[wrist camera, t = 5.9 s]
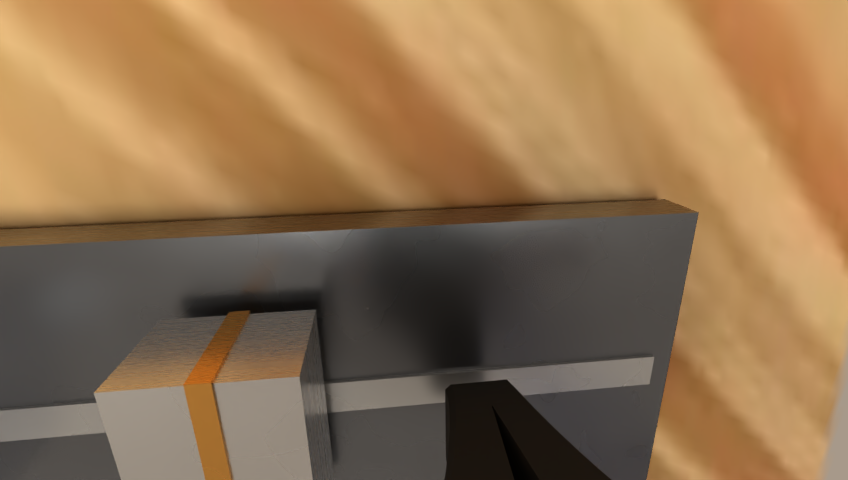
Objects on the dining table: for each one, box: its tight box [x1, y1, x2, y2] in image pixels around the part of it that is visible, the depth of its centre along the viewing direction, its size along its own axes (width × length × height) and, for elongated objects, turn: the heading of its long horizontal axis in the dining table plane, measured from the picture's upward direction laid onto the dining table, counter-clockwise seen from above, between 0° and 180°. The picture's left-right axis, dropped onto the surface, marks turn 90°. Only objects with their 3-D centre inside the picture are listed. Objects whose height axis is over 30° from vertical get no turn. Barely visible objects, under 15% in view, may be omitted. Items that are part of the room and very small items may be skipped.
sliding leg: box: [94, 310, 334, 480], centre depth 9 cm, size 5×3×2 cm, turn 1°
